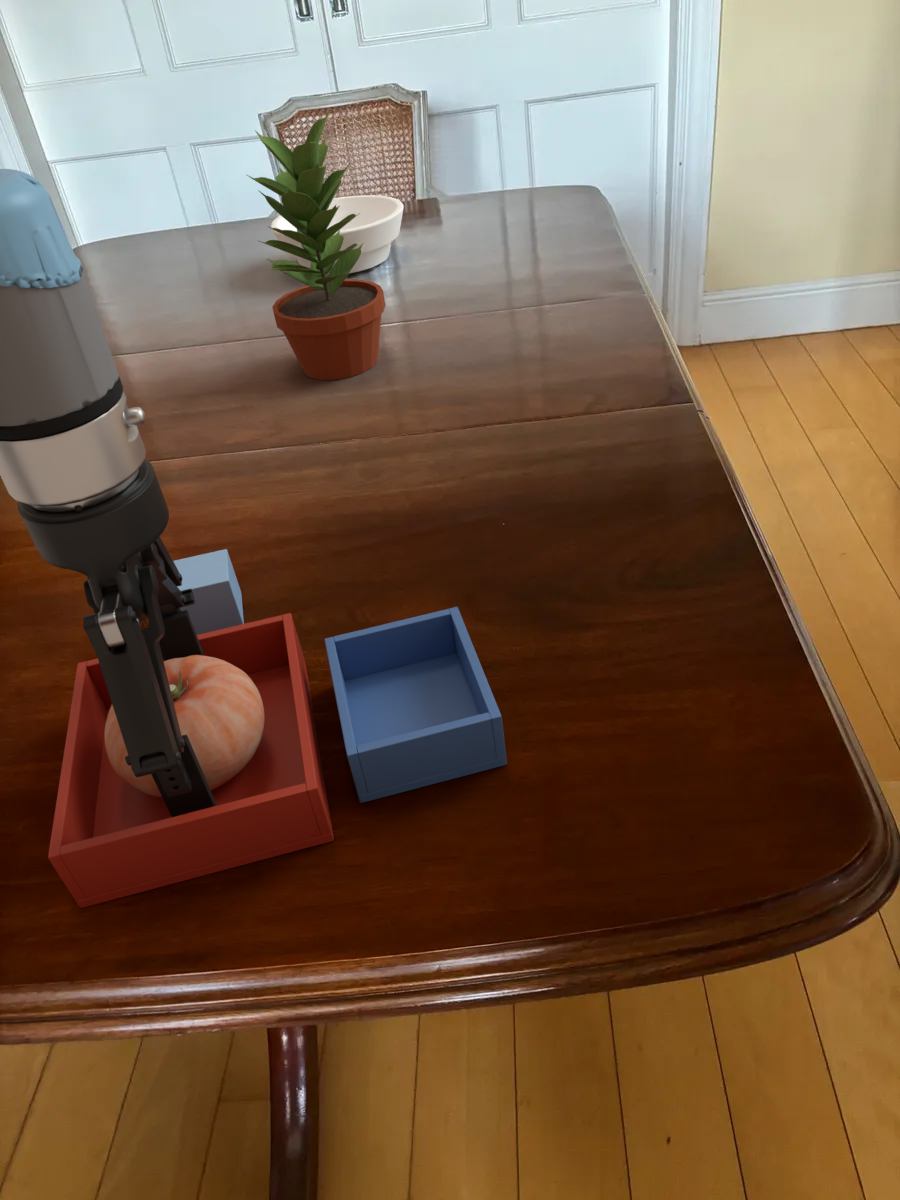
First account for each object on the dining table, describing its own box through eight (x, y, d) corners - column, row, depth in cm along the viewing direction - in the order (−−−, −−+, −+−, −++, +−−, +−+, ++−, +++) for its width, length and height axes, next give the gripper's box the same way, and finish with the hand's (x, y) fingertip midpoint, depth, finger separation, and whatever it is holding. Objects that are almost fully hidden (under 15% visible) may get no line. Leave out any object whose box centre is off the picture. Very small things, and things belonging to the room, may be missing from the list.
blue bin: (360, 803, 61) (346, 755, 58) (336, 684, 70) (324, 638, 67) (507, 765, 62) (501, 716, 59) (464, 653, 71) (457, 606, 69)
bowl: (424, 240, 161) (418, 191, 155) (389, 285, 144) (381, 231, 139) (308, 246, 166) (298, 198, 161) (261, 290, 149) (249, 238, 144)
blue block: (186, 639, 77) (168, 594, 74) (186, 606, 81) (169, 561, 78) (244, 626, 78) (228, 580, 75) (241, 593, 82) (226, 548, 78)
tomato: (142, 718, 69) (106, 640, 64) (282, 699, 68) (256, 619, 64) (111, 833, 60) (65, 753, 55) (270, 812, 60) (239, 730, 55)
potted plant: (263, 371, 122) (200, 127, 103) (352, 334, 129) (308, 99, 110) (324, 400, 112) (266, 137, 94) (417, 358, 119) (380, 106, 101)
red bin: (80, 908, 57) (47, 858, 53) (102, 712, 71) (77, 662, 68) (334, 841, 58) (317, 787, 55) (305, 662, 73) (290, 612, 70)
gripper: (141, 586, 41) (258, 870, 54) (156, 379, 60) (240, 626, 73) (-29, 625, 40) (132, 903, 53) (42, 403, 59) (147, 648, 72)
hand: (195, 743), depth 63 cm, fingers open, 12 cm apart
